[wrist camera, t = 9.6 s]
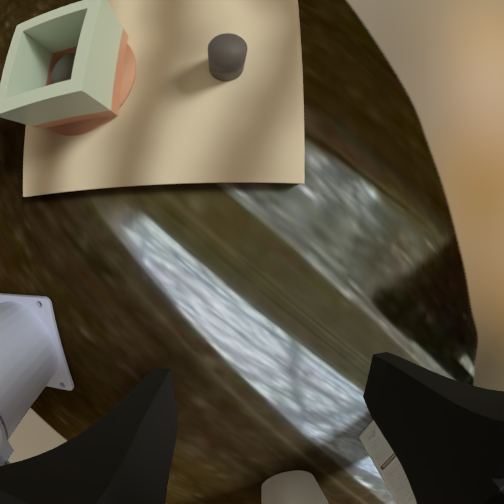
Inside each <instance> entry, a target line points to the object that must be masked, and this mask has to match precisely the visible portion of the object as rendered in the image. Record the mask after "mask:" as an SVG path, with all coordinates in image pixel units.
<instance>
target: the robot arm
mask: <svg viewBox="0 0 504 504" xmlns="http://www.w3.org/2000/svg"><path fill="white" fill-rule="evenodd" d="M39 301H40V302H41V304H42V306H41V305H40V303H39ZM46 386H48V387H53V388H58V389H63V390H69V391H71V390H72V389H73V388H74V383H73V380H72V377H71V374H70V371H69V368H68V365H67V362H66V359H65V355H64V352H63V348H62V345H61V341H60V337H59V333H58V329H57V325H56V321H55V316H54V312H53V307H52V303H51V300H50V299H49V298H48V297H46V296H30V295H16V294H2V293H0V504H165V502H166V490H167V484H168V478H169V473H170V468H171V462H172V457H173V452H174V447H175V441H176V435H177V419H178V411H177V406H176V401H175V395H174V390H173V384H172V378H171V371H170V369H152V370H151V371H150V372H149V373H148V374H147V375H146V376H145V377H144V378H143V379H142V381H141V382H140V383H139V384H138V385H137V386H136V387H135V388H134V389H133V390H132V391H131V392H130V393H129V394H128V395H127V396H126V397H125V398H124V399H123V400H122V401H121V402H120V403H119V404H118V405H117V406H116V407H115V408H113V409H112V410H111V411H110V412H109V413H108V414H107V415H105V416H104V417H103V418H102V419H101V420H99V421H98V422H97V423H95V424H94V425H93V426H91V427H90V428H88V429H87V430H85V431H84V432H83V433H81V434H79V435H78V436H76V437H74V438H73V439H71V440H69V441H67V442H65V443H63V444H61V445H60V446H58V447H56V448H54V449H52V450H49V451H47V452H45V453H42V454H40V455H37V456H34V457H32V458H29V459H26V460H23V461H19V462H15V463H11V464H10V463H9V462H8V459H9V457H10V455H11V454H12V452H13V448H12V447H11V445H10V444H9V442H8V439H9V437H10V436H11V434H12V433H13V431H14V430H15V428H16V427H17V426H18V424H19V423H20V421H21V420H22V418H23V417H24V415H25V414H26V413H27V411H28V410H29V408H30V407H31V406H32V404H33V403H34V402H35V400H36V399H37V397H38V396H39V395H40V393H41V392H42V391H43V389H44V388H45V387H46ZM363 398H364V400H365V402H366V405H367V407H368V410H369V412H370V414H371V416H372V418H373V420H374V422H375V423H376V425H377V426H378V428H379V430H380V431H381V433H382V434H383V436H384V437H385V439H386V441H387V442H388V444H389V445H390V447H391V448H392V450H393V452H394V453H395V455H396V456H397V458H398V460H399V462H400V463H401V465H402V468H403V470H404V472H405V474H406V476H407V479H408V481H409V483H410V486H411V489H412V491H413V494H414V497H415V499H416V502H417V504H504V392H503V391H496V390H489V389H484V388H480V387H475V386H472V385H468V384H464V383H461V382H458V381H455V380H453V379H450V378H447V377H444V376H442V375H439V374H437V373H435V372H432V371H430V370H428V369H425V368H423V367H421V366H419V365H416V364H414V363H412V362H410V361H408V360H405V359H403V358H401V357H398V356H396V355H393V354H391V353H388V352H385V353H379V354H374V355H373V358H372V362H371V367H370V371H369V375H368V380H367V384H366V388H365V392H364V396H363Z"/></svg>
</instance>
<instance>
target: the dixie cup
mask: <svg viewBox="0 0 504 504" xmlns="http://www.w3.org/2000/svg"><path fill="white" fill-rule="evenodd" d="M261 500H262V504H329V503H328V501H327V500H326V498H325V496H324V494H323V492H322V491H321V489H320V487H319V485H318V483H317V481H316V480H315V478H314V476H313V475H312V474H311V473H309V472H306V471H300V470H296V471H288V472H283V473H280V474H277V475H274V476H272V477H270V478H269V479H267V480H266V481H265V482H264V483H263V484H262V487H261Z"/></svg>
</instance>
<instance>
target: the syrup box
mask: <svg viewBox="0 0 504 504" xmlns="http://www.w3.org/2000/svg"><path fill="white" fill-rule="evenodd" d="M359 439H360V441H361V442H362V444H363V446H364V447H365V449H366V451H367V453H368V454H369V456H370V458H371V459H372V461H373V463H374V465H375V466H376V468H377V470H378V472H379V473H380V475H381V477H382V479H383V480H384V482H385V484H386V485H387V487H388V489H389V491H390V492H391V494H392V496H393V497H394V499H395V501H396V503H397V504H417V502H416V499H415V497H414V494H413V491H412V489H411V486H410V483H409V481H408V479H407V476H406V474H405V472H404V470H403V468H402V465H401V463H400V462H399V460H398V458H397V456H396V455H395V453H394V452H393V450H392V448H391V447H390V445H389V444H388V442H387V441H386V439H385V437H384V436H383V434H382V433H381V431H380V430H379V428H378V426H377V425H376V423H375V422H374V420H372V421H371V423H370V424H369V425H368V426H367V427H366V429H365V430H364V431H363V432H362V433H361V435H359Z"/></svg>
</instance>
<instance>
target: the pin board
mask: <svg viewBox="0 0 504 504" xmlns="http://www.w3.org/2000/svg"><path fill="white" fill-rule="evenodd" d="M107 1H108V3H109V5H110V6H111V8H112V10H113V11H114V13H115V15H116V16H117V18H118V20H119V21H120V23H121V25H122V26H123V28H124V30H125V31H126V33H127V35H128V41H127V46H126V52H125V58H124V65H123V72H122V80H121V88H120V98H119V108H118V116H110V117H103V118H97V119H90V120H84V121H79V122H73V123H68V124H63V125H58V126H53V127H49V128H44V129H40V128H36V127H33V126H29V125H26V129H25V141H24V158H23V197H31V196H38V195H46V194H54V193H63V192H72V191H82V190H92V189H103V188H116V187H130V186H146V185H165V184H193V183H291V184H304V102H303V75H302V54H301V38H300V23H299V10H298V0H107ZM75 55H76V54H68V55H66V56H64V57H62V58H61V59H60V60H59V61H58V62H57V63H56V65H55V66H54V68H53V71H52V80H53V82H54V83H58V82H62V81H66V80H70V79H71V75H72V70H73V65H74V60H75Z"/></svg>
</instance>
